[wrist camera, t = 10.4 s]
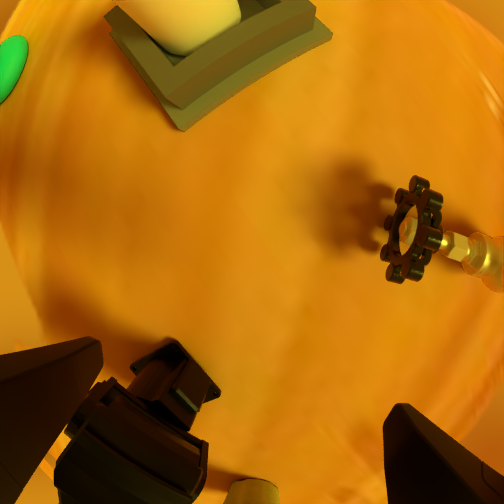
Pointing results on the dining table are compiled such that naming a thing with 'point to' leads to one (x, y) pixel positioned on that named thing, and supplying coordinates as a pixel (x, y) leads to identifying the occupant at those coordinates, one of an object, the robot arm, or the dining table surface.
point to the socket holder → (220, 55)
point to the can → (183, 21)
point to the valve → (436, 240)
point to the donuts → (11, 63)
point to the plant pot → (252, 492)
